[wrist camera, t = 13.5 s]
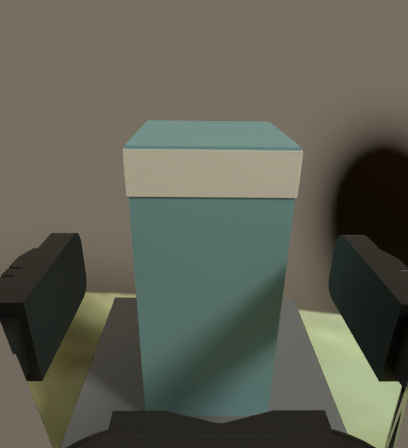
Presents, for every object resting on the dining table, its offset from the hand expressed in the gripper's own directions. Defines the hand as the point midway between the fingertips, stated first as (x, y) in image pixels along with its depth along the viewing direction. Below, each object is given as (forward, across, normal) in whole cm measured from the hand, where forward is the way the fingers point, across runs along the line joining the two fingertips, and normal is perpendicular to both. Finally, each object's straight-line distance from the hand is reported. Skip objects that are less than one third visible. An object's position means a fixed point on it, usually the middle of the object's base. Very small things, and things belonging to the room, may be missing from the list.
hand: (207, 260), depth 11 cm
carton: (+3, 0, +8) cm, 8 cm away
